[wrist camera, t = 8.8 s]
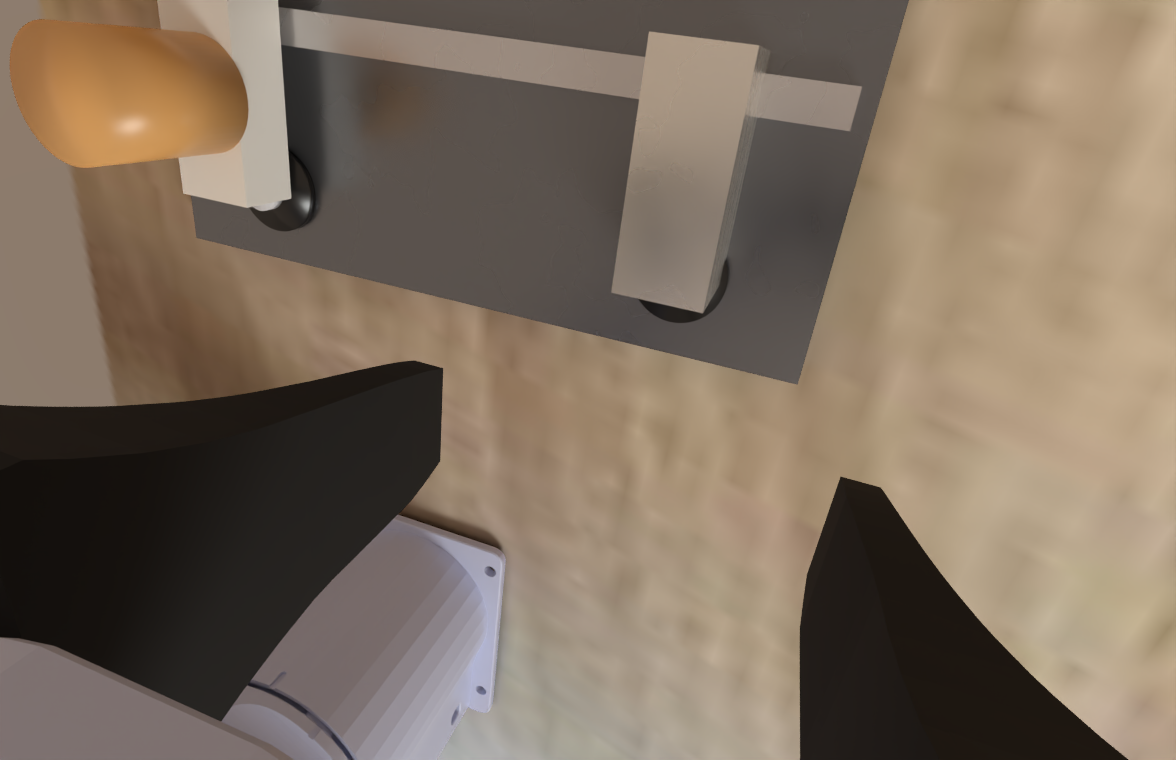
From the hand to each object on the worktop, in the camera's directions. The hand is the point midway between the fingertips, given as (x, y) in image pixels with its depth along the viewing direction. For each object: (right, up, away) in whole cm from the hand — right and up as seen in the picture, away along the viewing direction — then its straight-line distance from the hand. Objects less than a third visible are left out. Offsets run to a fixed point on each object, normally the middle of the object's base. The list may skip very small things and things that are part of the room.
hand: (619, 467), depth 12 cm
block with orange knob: (-11, +10, +9) cm, 18 cm away
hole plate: (-4, +9, +9) cm, 14 cm away
